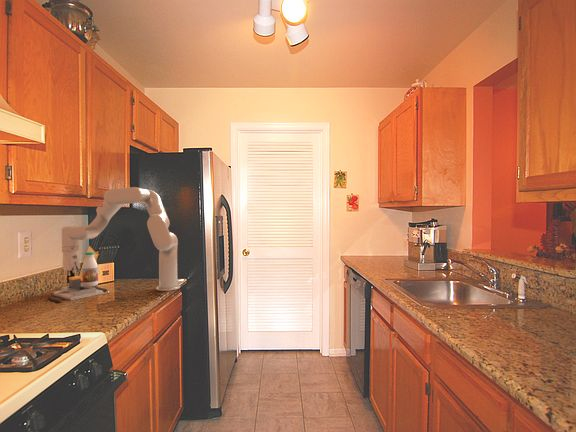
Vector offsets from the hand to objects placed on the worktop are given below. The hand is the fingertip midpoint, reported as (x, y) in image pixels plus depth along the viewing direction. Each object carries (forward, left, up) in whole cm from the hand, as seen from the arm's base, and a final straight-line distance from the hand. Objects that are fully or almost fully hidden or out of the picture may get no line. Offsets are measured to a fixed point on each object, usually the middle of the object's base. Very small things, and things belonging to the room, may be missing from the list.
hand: (70, 282), depth 169 cm
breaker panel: (0, +9, -5) cm, 10 cm away
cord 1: (+12, +13, -5) cm, 18 cm away
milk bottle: (-13, -7, -5) cm, 16 cm away
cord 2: (-11, +9, -5) cm, 15 cm away
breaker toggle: (0, +5, -3) cm, 6 cm away
